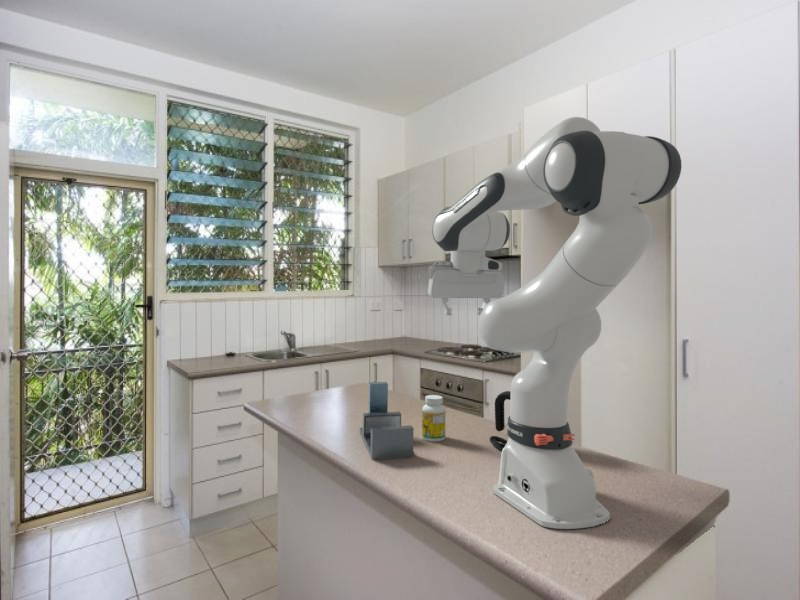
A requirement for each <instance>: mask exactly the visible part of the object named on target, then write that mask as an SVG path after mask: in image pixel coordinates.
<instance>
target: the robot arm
mask: <svg viewBox="0 0 800 600" xmlns="http://www.w3.org/2000/svg"><path fill="white" fill-rule="evenodd" d="M681 173H682V159H681V155H680V152H679V151H678V148H676V147H675V146H674V144H672V143H670V142H669V141H666V140H664V139H662V138H659V137H656V136H651V135H649V136H648V135H646V136H644V135H639V134H633V133H627V132H624V131H613V130H612V131H609V130H608V131H607V130H606V131H605V130H602V131H601V129H600V128H599V127H598V126H597V125H596V124H595V123H594V122H593V121H592V120H589V119H588V118H585V117H579V116H573V117H569V118H566V119H564V120H562V121H561V122H559V123H558V124H556V125H555V126H554V127H552V128H551V129H550V130H548V131H547V132H546V133H545V134H543V135H542V136H541V137H540V138H539V139H538V140H536V142H534V144H532V146H531V147H530V148H529V149H528V150H527V151H526V152H525V153H523V155H521V156H520V157H519V158H517V159H516V160H515V161H513V162H512V163H510V164H509V165H507V166H506V167H503V168H502V169H501V170H498V171H496V172H493V173H492V174H490V175H489V176H487V177H485V178H484V179H482V180H481V181H480V182H478V183H477V184H476V185H474V187H472V188H471V189H470V190H468V192H466V193H465V194H464V195H463V196H462V197H461V198H459V199H458V200H457V201H456V202H455V203H454V204H453V205H451V206H447V207H444V208H443V209H442V210H440V212H438V214H437V215H436V216H435V218H434V221H433V223H432V230H431V232H432V238H433V240H434V242H435V243H436V244H437V245H438V247H439V248H440V249H442V250H443V251H444V252H450V261H449V262H447V261H445V262H440V261H435V262H434V263H432V264H430V266H429V267H428V277H429V279H428V288H427V294H428V295H429V297H431V298H433V299H440V303H441V304H442V306H443V308H444V313H443V314H444V315H445V316H452V315H453V308H451V307H449V306H448V304H447V303H449V299H481V300H482V302H483V303H482V305H481V306H480V307H478V308H477V315H479V319H478V331H479V334H480V337H481V339H482V340H483V343H484V344H485V345H486V346H487V347H488V348H489V349H491V350H496V351H499V352H505V353H511V354H519V353H520V354H521V353H522V354H525V353H533V355H532V359H530V362H529V363H528V365H526V367H525V368H524V369H522V370H521V371H519V372H517V373H516V374H515V375H514V377H513V378H512V380H511V383H510V391H511V395H510V400H509V402H510V403H509V416H508V418H507V423H506V429H507V434H506V435H507V436H508V438H507V443H506V445H505V447H504V448H503V450H502V452H501V455H500V463H499V465H500V466H499V475H498V482H497V483H495V484H494V485H493V488H492V493H493V494H494V495H496V496H497V497H499V498H500V499H502V500H503V501H505V502H506V503H508V504H509V505H510V506H512V507H513V508H515V509H516V510H518V511H519V512H521V513H522V514H523V515H525V516H527V518H529V519H531V520H532V521H534V522H535V523H537V524H538V525H539V526H542V527H545V528H549V529H550V528H551V529H555V530H557V529H558V530H559V529H560V530H573V529H585V528H592V527H596V525H597V526H600V525H599V524H601V525H603V524H605V522H606V521H607V522H609V521H610V520H611V517H612V516H611V512H610V511H609V510H608V509H607V508H606V507H605V506H604V505H603V504H602V503H601V502H600V501H599V500H598V499H597V495H596V494H597V493H596V485H595V481H594V473H593V471H592V470H591V469H590V468H587V467H586V466H585V464H584V463H583V462H582V460H581V458H580V457H579V455H578V453H577V452H576V450H575V449H574V447H573V442H574V441H575V439H576V438H573V437H574V436H575V435H576V434H575V433H572V430H571V428H570V424H569V422H568V405H569V404H568V403H569V402H568V401H569V389H570V383H571V380H572V377H573V374H574V372H575V369H576V367H577V365H578V363H579V361H580V360H581V358H582V357H583V355H584V354H585V352H586V351H588V350H589V349H590V348H591V347H592V346H594V345H595V344H596V342H597V341H598V339H599V338H600V335H601V331H602V319H601V316H600V314H599V312H598V310H597V308H598V307H599V306H600V304H601V303H602V302H603V301H605V299H606V298H607V297H608V296H609V295H610V294H611V293H612V292H613V290H614V289H615V288H617V287H618V286H619V284H620V283H621V282H622V281H623V280H624V279H625V278H626V277H627V275H629V273H630V272H631V271H632V270H633V269H634V268H635V266H636V265H637V263H638V261H639V260H640V259H641V258H642V256H643V255H644V252H645V251H646V250H647V248H648V246H649V244H650V243H651V240H652V238H653V233H654V227H653V223H652V221H651V219H650V217H649V215H648V214H647V213H646V212H645V211H644V210H643V209H641V208H640V205H644V204H649V203H653V202H655V201H658V200H660V199H662V198H664V197H666V196H667V195H669V193H670V192H671V191H672V190H673V189H674V188H675V187H676V185H677V184H678V181H679V179H680V176H681ZM557 202H558V203H559V204H560V206H561V209H562V211H563V212H564V213H566V214H568V215H569V216H573V217H579V221H578V223H577V226H576V228H575V229H574V230H573V232H572V234H571V235H570V236H569V238H567V240H566V241H565V243H564V244H563V245H562V247H561V248H560V249H559V250H558V252H557V253H556V255H554V257H553V259H551V261H550V263H549V264H548V265H547V266H546V267H545V269H543V270H542V271H541V273H539V274H538V275H536V276H535V277H534V278H533V279H531V280H530V281H528V282H527V283H525V284H524V285H523V286H521V287H520V288H518V289H517V290H514V291H512V292H511V293H510V294H508V295H505V296H504V293H505V277H504V275H503V273H502V269H503V263H502V262H501V261H498V260H495V259H493V258H490V257H487V256H486V252H492V251H499V250H501V249H502V248H503V247H504V246H505V245H506V244H507V242H508V240H510V239H509V238H510V235H511V226H510V221H509V220H508V217H507V216H506V215H505V214H504V211H520V210H521V211H523V210H526V211H527V210H537V209H543V208H545V207H548V206H551V205H553V204H555V203H557ZM569 210H570V211H569ZM502 211H503V212H502ZM491 299H495V300H492V301H491ZM609 519H610V520H609ZM608 520H609V521H608ZM607 522H606V523H607ZM602 523H603V524H602Z"/></svg>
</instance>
